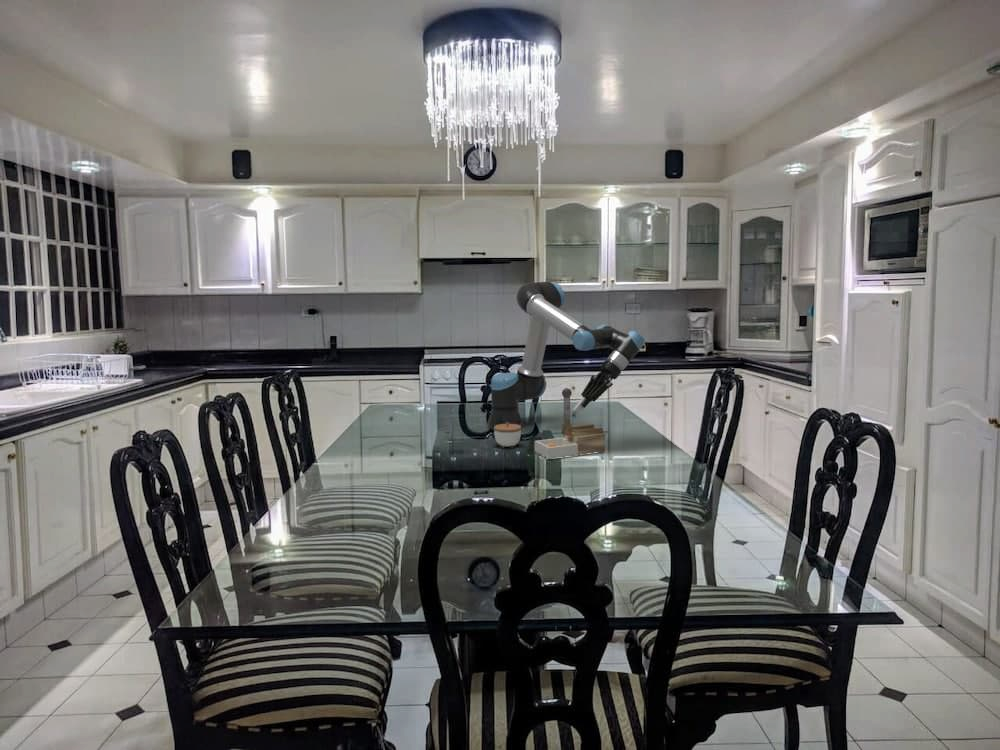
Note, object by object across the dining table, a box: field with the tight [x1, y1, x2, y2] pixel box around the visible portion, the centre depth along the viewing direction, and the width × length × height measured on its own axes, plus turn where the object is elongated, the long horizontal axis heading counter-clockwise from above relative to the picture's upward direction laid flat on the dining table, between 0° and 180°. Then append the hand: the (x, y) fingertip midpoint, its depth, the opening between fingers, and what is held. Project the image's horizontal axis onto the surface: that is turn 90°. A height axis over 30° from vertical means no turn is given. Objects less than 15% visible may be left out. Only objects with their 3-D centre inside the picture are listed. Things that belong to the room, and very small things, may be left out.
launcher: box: [562, 423, 606, 456], centre depth 277 cm, size 11×12×9 cm
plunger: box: [561, 387, 573, 436], centre depth 273 cm, size 5×4×18 cm
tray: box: [534, 437, 578, 458], centre depth 273 cm, size 12×12×4 cm
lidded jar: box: [493, 422, 522, 447], centre depth 286 cm, size 11×11×9 cm
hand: (575, 412), depth 274 cm, fingers closed
